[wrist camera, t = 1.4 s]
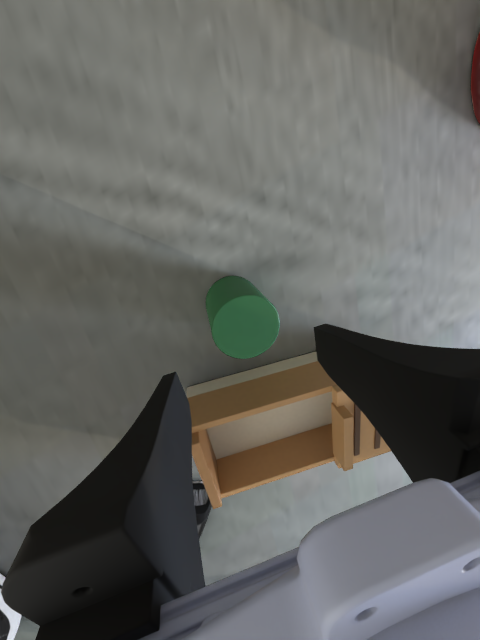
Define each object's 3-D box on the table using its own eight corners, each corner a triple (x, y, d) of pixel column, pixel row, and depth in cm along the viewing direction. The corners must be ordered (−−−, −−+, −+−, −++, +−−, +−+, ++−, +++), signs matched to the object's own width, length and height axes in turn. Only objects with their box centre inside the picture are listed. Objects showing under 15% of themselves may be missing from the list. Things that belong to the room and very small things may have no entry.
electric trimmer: (158, 562, 32) (156, 596, 29) (181, 480, 27) (181, 512, 24) (187, 559, 33) (187, 591, 30) (214, 480, 28) (218, 510, 25)
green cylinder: (253, 270, 20) (275, 287, 15) (261, 319, 21) (283, 349, 16) (199, 282, 19) (204, 304, 14) (212, 331, 21) (220, 366, 16)
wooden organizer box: (359, 338, 24) (420, 380, 18) (358, 406, 28) (408, 460, 22) (186, 387, 23) (185, 452, 16) (208, 452, 26) (216, 527, 20)
